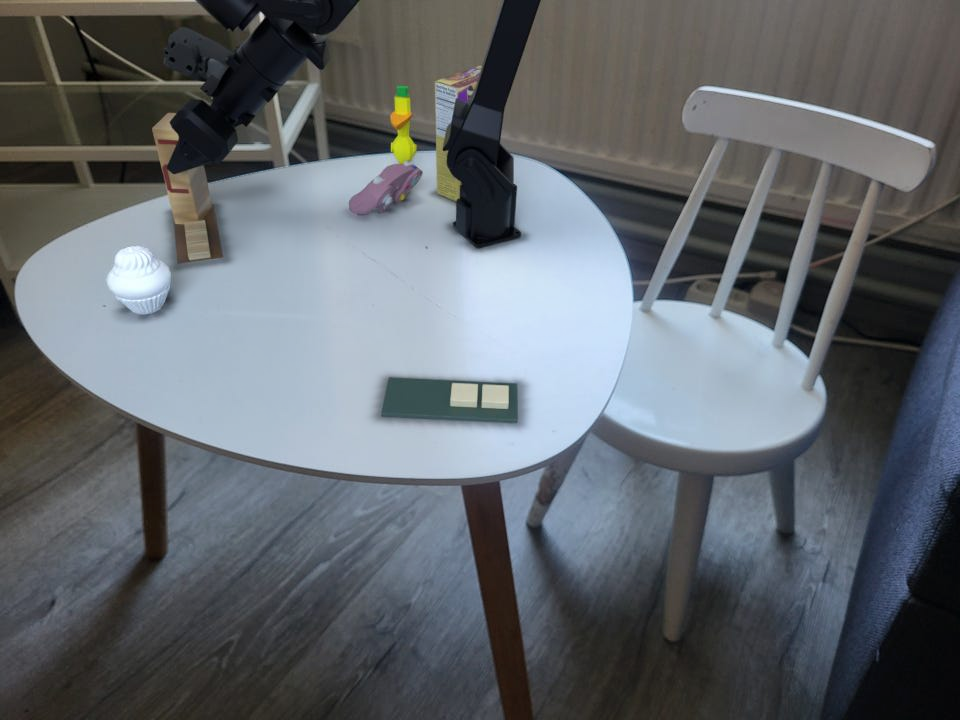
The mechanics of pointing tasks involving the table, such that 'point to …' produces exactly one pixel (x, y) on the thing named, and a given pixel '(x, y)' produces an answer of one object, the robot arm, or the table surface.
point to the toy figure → (402, 126)
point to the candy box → (444, 106)
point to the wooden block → (181, 178)
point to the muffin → (139, 280)
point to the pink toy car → (386, 188)
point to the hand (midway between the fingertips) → (184, 154)
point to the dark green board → (450, 400)
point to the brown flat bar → (198, 239)
